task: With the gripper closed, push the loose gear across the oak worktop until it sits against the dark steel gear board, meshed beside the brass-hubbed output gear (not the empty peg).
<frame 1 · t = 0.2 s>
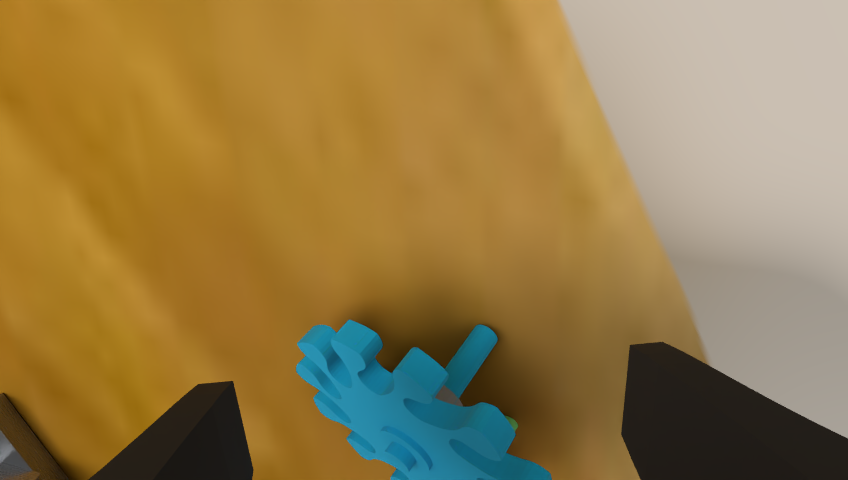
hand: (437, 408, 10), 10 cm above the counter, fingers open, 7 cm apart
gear: (415, 375, 22), on the counter
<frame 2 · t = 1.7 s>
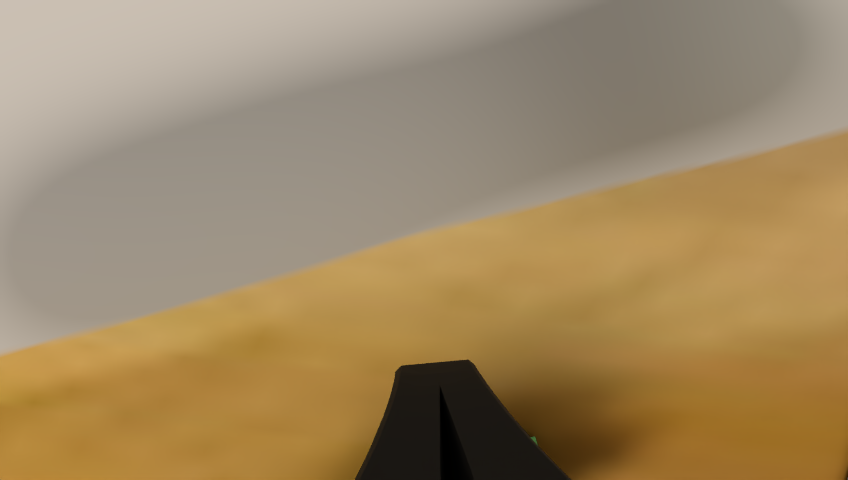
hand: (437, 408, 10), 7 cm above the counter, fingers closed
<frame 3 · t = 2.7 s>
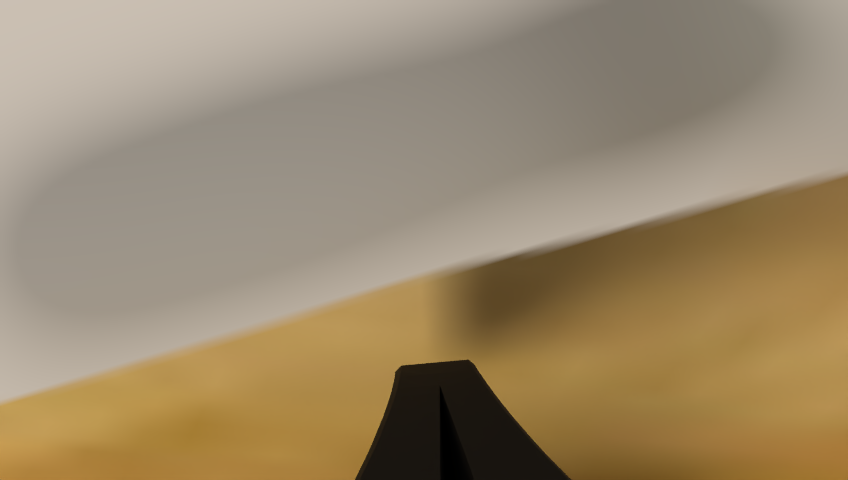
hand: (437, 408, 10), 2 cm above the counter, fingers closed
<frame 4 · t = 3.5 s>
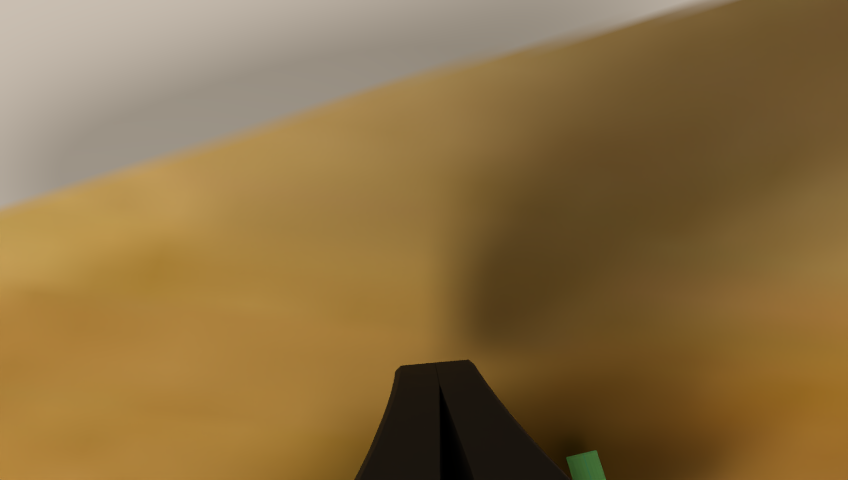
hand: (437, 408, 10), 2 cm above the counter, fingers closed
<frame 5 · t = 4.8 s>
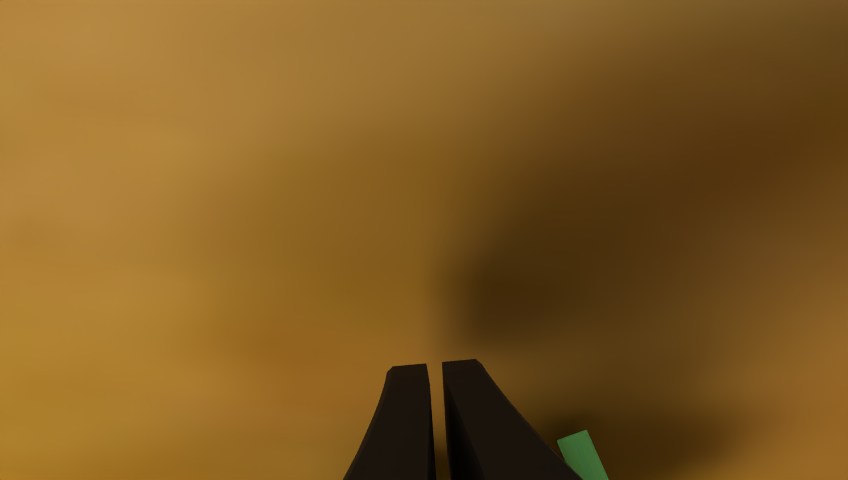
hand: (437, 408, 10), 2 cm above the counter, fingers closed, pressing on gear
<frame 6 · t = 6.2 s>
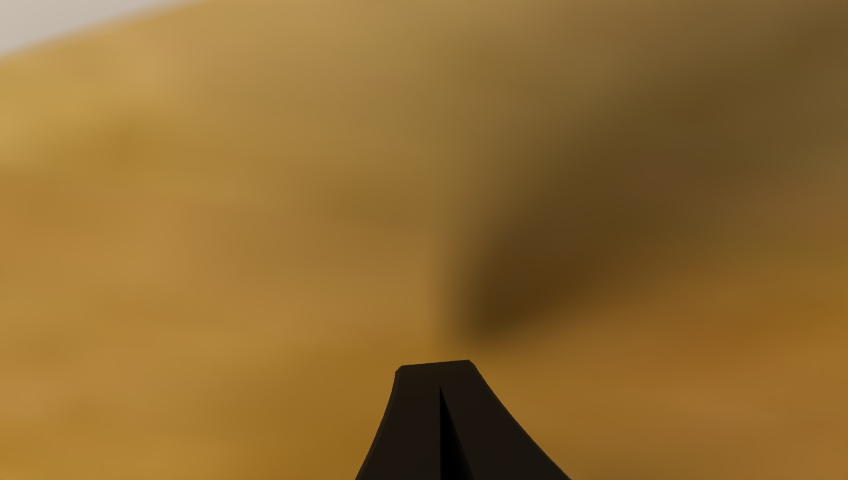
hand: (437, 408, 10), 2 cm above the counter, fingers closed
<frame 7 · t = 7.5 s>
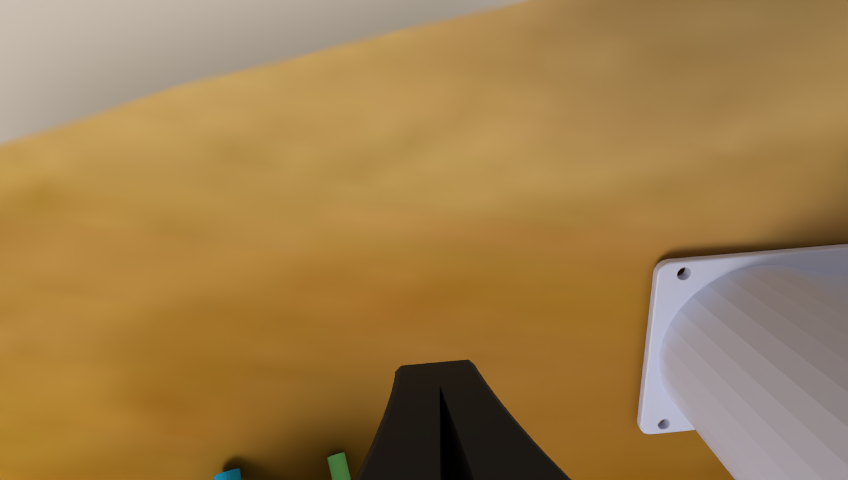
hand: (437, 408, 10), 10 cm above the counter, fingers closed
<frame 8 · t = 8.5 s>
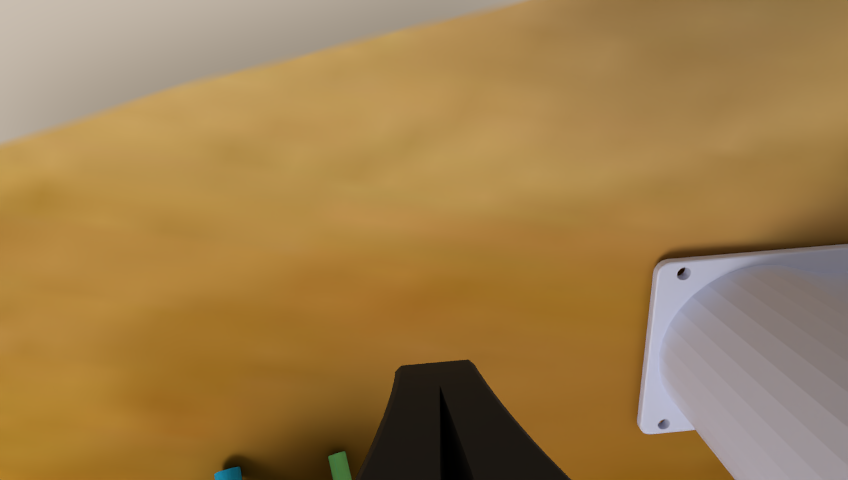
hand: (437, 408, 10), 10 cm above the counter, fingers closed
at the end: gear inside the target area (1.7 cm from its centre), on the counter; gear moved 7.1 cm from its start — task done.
